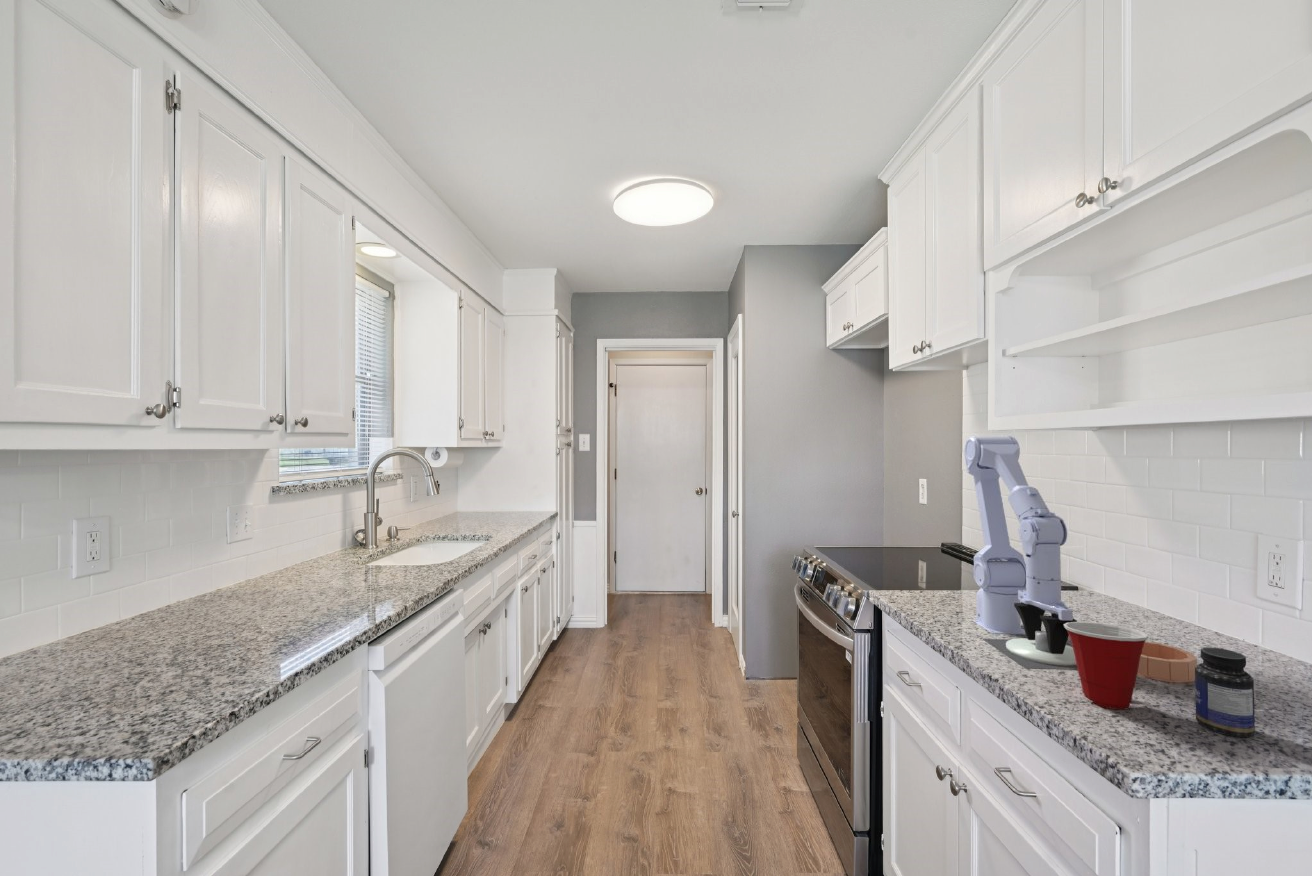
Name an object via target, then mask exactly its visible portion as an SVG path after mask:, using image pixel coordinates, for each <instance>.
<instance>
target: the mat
mask: <svg viewBox="0 0 1312 876" xmlns="http://www.w3.org/2000/svg"><path fill="white" fill-rule="evenodd" d="M982 640H983V641H985V643H988V644H989V645H991V646H992V647H994V648H995V649H996V650H997V651H999V652H1000V653H1002V654H1003V655H1005V656H1006V657H1007V658H1009V659H1010V660H1012V661H1013V662H1015V663H1016V664H1017V665H1019V666H1021V667H1022V668H1024V669H1028V670H1029V669H1032V670H1034V669H1035V670H1064V671H1065V670H1069V671H1070V670H1072V671H1073V670H1074V671H1078V669H1077V666H1056V665H1048V664H1042V663H1038V662H1033V661H1030V660H1026V659H1023V658H1020V657H1018V656H1016V655H1013V654H1012V653H1010V652H1009V651H1008V650H1007V649H1006V642H1007V641H1008V640H1011V639H1009V638H1008V639H1007V638H1004V639H1003V638H982ZM1066 645H1068V646H1071V647H1073V646H1072V644H1069V643H1066Z"/></svg>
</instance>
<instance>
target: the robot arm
mask: <svg viewBox="0 0 1312 876" xmlns="http://www.w3.org/2000/svg"><path fill="white" fill-rule="evenodd" d="M1020 454H1021V448H1020V444H1019V442H1018V440H1017V439H1016V438H1015V437H1014V436H1012V435H1007V436H975V435H971V436H969V438H968V439H967V440H966V442H965V444H964V448H963V455H964V460H965V466H966V470H967V473H968V474H969V475H971V476H973V481H974V488H975V493H976V499H977V500H976V501H977V506H978V512H979V518H980V525H981V529H982V537H983V543H984V547H983V548H982V549H980V550H979V551H977V553H975V555H974V556H973V580H974V581H975V583H976V584H977V585H978V587H979V588H980V589H978V591H977V593H976V597H975V598H976V619H972V622H974V623H976V624H977V625H978V626H980V627H982V628H983V629H985V630H986V631H988V632H989V633H991V634H996V635H997V634H1001V635H1002V634H1003V635H1004V634H1005V635H1006V634H1007V635H1008V634H1010V635H1011V634H1012V635H1025V636H1026V637H1025V638H1027V639H1028V640H1035V631H1042V625H1043V627H1044V629H1045V630H1044V631H1046V634H1047V641H1048V648H1049V651H1050V653H1052V654H1063V653H1064V649H1065V646H1066V643H1067V642H1068V639H1069V638H1070V637H1069V634H1068V632H1067V630H1066V628H1065V627H1064V625H1063V624H1065V623H1070V622H1078V620H1077V619H1075V618H1073V617H1074V616H1073V615H1074V614H1073V611H1074V610H1072V609H1070V608H1069V607H1068V606H1067V605H1066V604H1065V603H1064V602H1063V601H1062V579H1061V578H1062V575H1061V574H1062V570H1061V569H1062V567H1061V565H1062V564H1061V546H1063V545H1065V544H1066V542H1067V539H1068V528H1067V524H1066V523H1065V520H1064V519H1063V518H1062V517H1060V516H1058V515H1056V513H1055V512H1052V511H1050V510H1049V507H1048V506H1047V504H1046V502H1045V501H1044V499H1043V497H1042V495H1041V493H1040V492H1039V490H1038V489H1037V488H1035V487H1033V486H1030V485H1029V484H1028V481H1027V479H1026V476H1025V473H1024V472H1023V469H1022V466H1021V465H1020V462H1019V460H1020ZM1000 478H1001V479H1002V480H1001V481H1003V482H1004V485H1005V486H1006V487H1007V489H1008V490H1009V492H1010V493H1009V495H1008V497H1007V501H1008V502H1009V504H1010V506H1011V508H1012V511H1013V513H1014V514H1015V516H1016V518H1017V520H1018V521H1019V527H1018V535H1019V539H1020V542H1021V547H1022V548H1021V549H1022V552H1023V553H1024V554H1025V556H1024V554H1022V553H1021V552H1019V550H1017V549H1015V548H1014V547H1012V546H1011V543H1010V537H1009V532H1008V526H1007V520H1006V515H1005V508H1004V503H1003V497H1002V492H1001V487H1000V481H999V480H1000ZM1024 557H1025V558H1024ZM1025 589H1026V590H1025ZM1045 612H1048V613H1049V614H1051V615H1045ZM1022 626H1023V628H1022ZM1067 644H1068V643H1067Z"/></svg>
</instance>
